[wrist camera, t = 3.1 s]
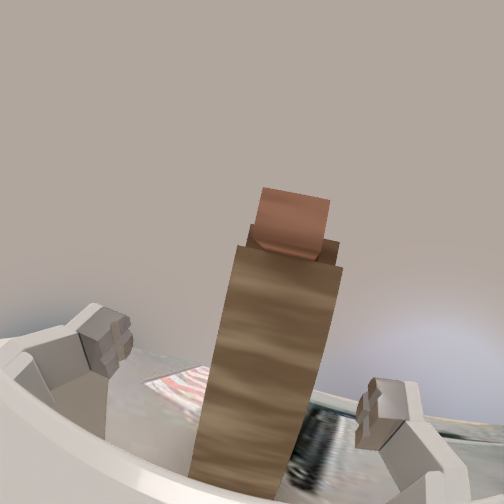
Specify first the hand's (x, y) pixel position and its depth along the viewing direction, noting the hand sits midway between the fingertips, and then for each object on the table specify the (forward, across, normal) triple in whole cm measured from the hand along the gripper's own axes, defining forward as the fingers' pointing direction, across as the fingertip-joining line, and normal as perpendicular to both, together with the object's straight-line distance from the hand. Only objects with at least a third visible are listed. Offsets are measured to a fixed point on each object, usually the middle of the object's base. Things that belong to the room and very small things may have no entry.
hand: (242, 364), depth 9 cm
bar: (+18, 0, +5) cm, 19 cm away
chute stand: (+10, 0, +30) cm, 31 cm away
